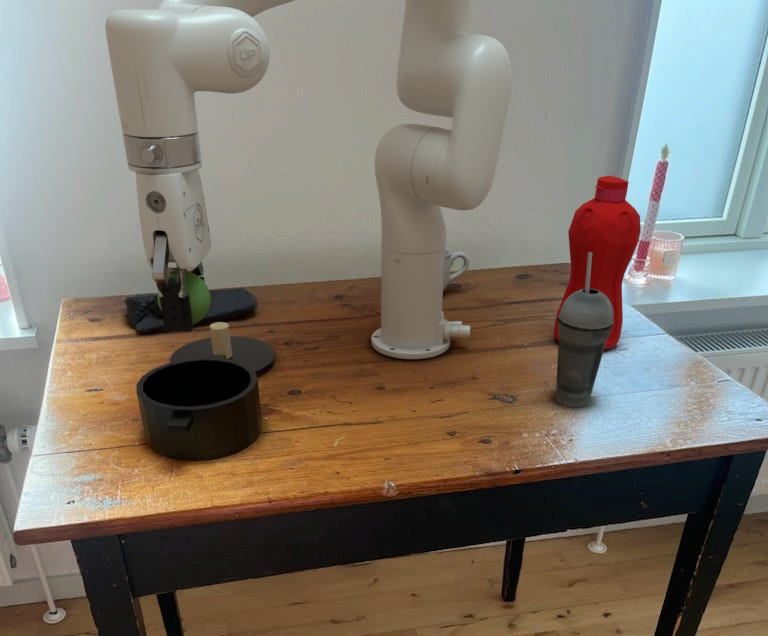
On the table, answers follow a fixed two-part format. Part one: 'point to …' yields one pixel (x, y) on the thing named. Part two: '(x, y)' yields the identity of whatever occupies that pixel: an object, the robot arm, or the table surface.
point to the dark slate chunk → (221, 308)
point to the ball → (195, 295)
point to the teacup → (449, 262)
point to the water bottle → (603, 246)
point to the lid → (229, 349)
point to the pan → (200, 408)
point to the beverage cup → (581, 342)
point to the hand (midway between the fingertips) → (186, 318)
